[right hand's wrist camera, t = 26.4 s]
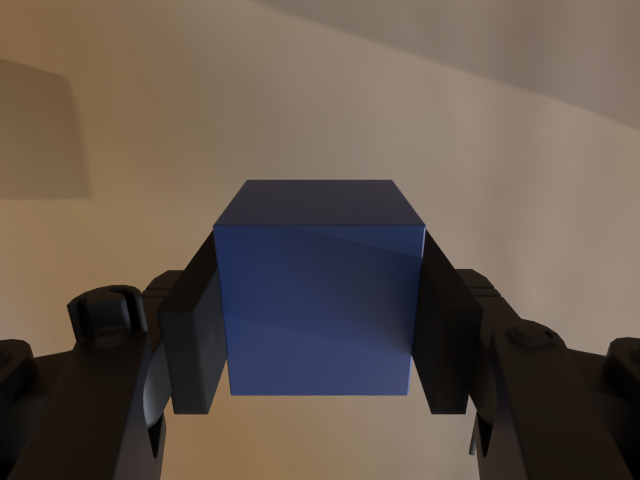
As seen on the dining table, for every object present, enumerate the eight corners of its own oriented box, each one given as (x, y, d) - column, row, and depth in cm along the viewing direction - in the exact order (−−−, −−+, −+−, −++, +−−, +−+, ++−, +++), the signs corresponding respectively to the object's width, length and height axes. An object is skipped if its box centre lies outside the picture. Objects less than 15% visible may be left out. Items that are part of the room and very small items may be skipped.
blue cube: (384, 308, 16) (409, 396, 11) (255, 308, 16) (230, 396, 11) (392, 179, 14) (426, 225, 9) (246, 179, 14) (211, 225, 9)
